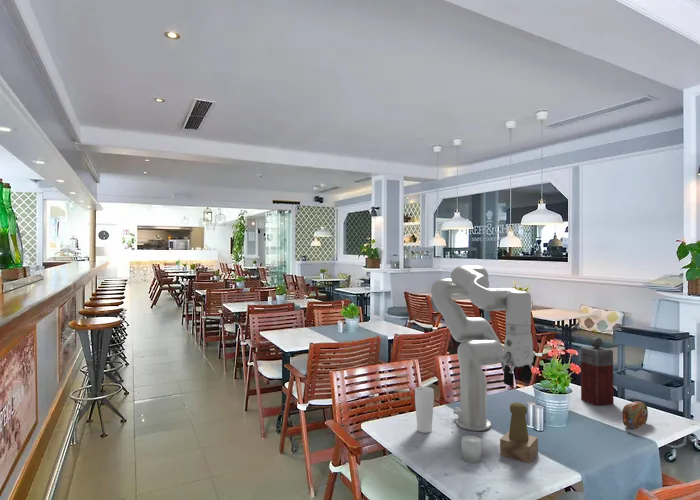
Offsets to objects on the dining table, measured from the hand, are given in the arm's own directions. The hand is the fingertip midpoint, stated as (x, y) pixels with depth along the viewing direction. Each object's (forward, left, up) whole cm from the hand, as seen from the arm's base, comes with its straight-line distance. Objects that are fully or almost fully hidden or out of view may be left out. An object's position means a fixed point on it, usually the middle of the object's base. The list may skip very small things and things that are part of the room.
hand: (517, 382), depth 139 cm
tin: (+13, +57, -23) cm, 63 cm away
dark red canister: (-9, +74, -23) cm, 78 cm away
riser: (+1, 0, -23) cm, 23 cm away
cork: (0, 0, -18) cm, 18 cm away
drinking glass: (-30, -11, -23) cm, 40 cm away
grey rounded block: (-6, -15, -23) cm, 28 cm away
